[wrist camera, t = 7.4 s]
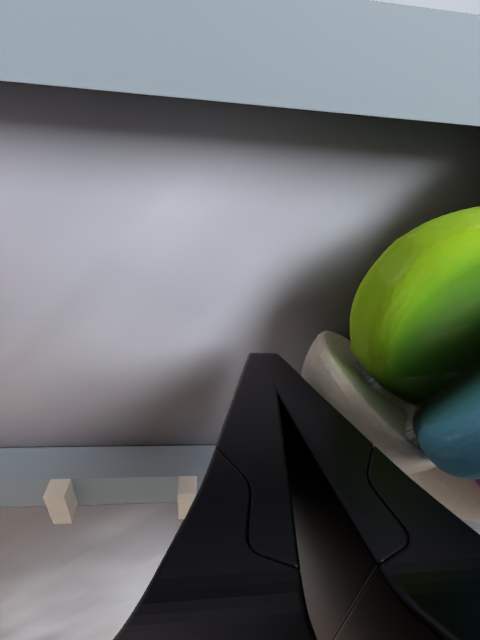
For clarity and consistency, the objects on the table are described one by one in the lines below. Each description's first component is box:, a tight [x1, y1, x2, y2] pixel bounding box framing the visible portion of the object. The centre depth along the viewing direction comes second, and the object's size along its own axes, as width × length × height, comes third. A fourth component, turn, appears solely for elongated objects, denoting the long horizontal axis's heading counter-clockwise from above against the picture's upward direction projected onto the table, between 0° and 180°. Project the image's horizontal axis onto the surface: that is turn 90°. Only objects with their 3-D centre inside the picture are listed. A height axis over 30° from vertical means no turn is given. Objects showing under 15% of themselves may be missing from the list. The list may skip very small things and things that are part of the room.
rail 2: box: [0, 0, 480, 127], centre depth 6 cm, size 20×2×1 cm, turn 86°
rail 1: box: [0, 445, 216, 524], centre depth 12 cm, size 20×2×2 cm, turn 86°
